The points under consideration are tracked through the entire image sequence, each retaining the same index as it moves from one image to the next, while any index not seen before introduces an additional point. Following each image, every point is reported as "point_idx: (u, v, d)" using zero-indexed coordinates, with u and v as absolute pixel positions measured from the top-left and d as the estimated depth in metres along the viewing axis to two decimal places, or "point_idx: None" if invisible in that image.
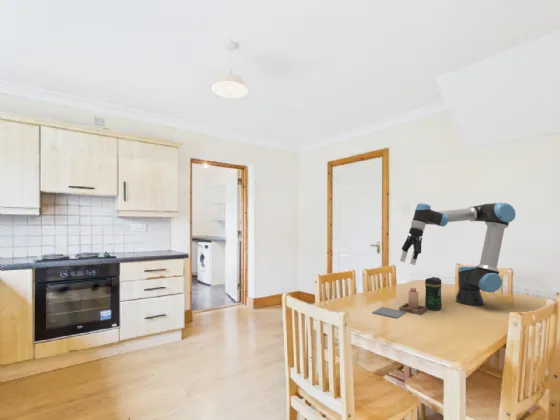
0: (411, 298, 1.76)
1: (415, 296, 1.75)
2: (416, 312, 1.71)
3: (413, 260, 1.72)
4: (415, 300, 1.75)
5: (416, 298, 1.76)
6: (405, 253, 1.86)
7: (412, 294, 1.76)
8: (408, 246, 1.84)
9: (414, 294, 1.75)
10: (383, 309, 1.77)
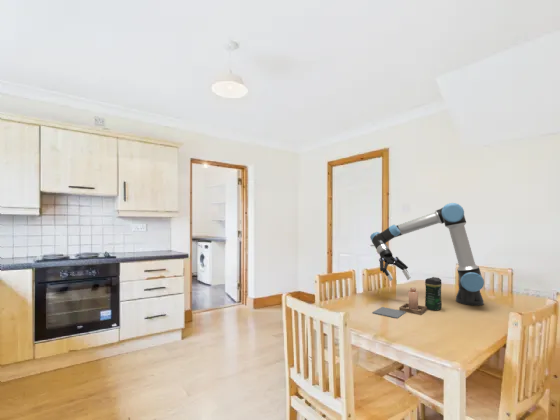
0: (411, 298, 1.76)
1: (415, 296, 1.75)
2: (416, 312, 1.71)
3: (388, 276, 1.88)
4: (415, 300, 1.75)
5: (416, 298, 1.76)
6: (404, 271, 1.94)
7: (412, 294, 1.76)
8: (398, 265, 1.97)
9: (414, 294, 1.75)
10: (383, 309, 1.77)
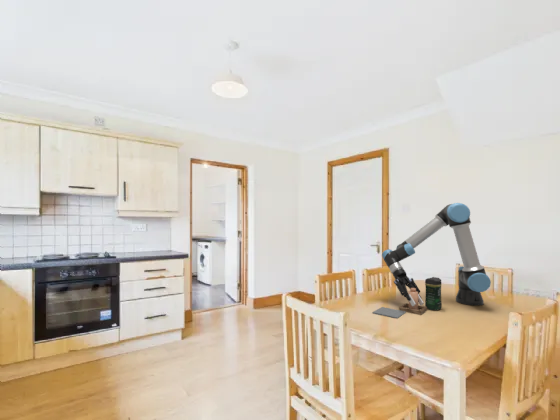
0: None
1: (415, 296, 1.75)
2: (416, 312, 1.71)
3: (411, 301, 1.75)
4: (415, 300, 1.75)
5: (416, 298, 1.76)
6: None
7: (412, 294, 1.76)
8: (410, 287, 1.83)
9: (414, 294, 1.75)
10: (383, 309, 1.77)
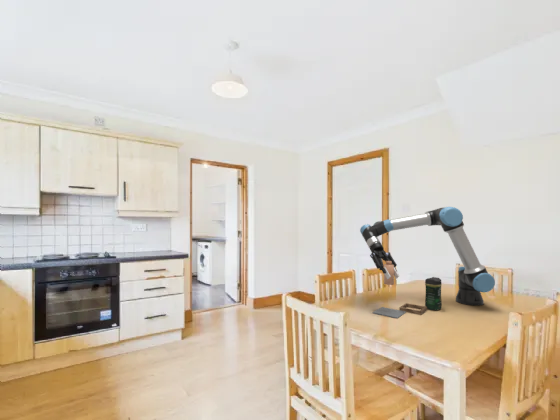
0: None
1: (390, 269, 1.72)
2: (416, 312, 1.71)
3: (386, 274, 1.71)
4: (390, 273, 1.71)
5: (392, 271, 1.72)
6: None
7: (387, 266, 1.72)
8: None
9: (389, 267, 1.72)
10: (383, 309, 1.77)
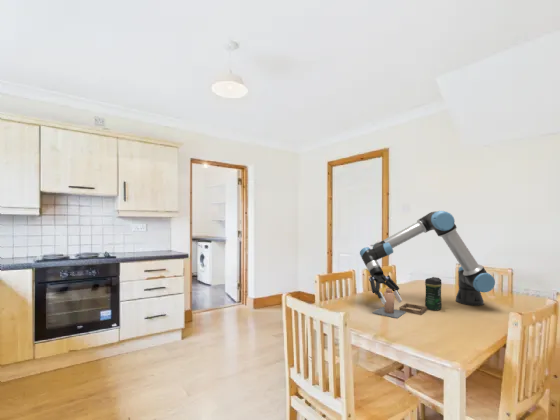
0: (387, 299, 1.71)
1: (391, 297, 1.71)
2: (416, 312, 1.71)
3: (381, 299, 1.70)
4: (391, 301, 1.71)
5: (392, 299, 1.71)
6: (395, 292, 1.75)
7: (387, 294, 1.71)
8: (388, 285, 1.79)
9: (390, 295, 1.71)
10: (383, 309, 1.77)
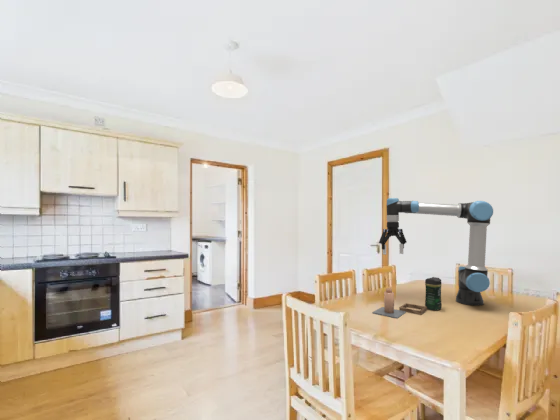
0: (387, 299, 1.71)
1: (391, 297, 1.71)
2: (416, 312, 1.71)
3: (383, 250, 1.96)
4: (391, 301, 1.71)
5: (392, 299, 1.71)
6: (401, 245, 2.00)
7: (387, 294, 1.71)
8: (398, 238, 2.00)
9: (390, 295, 1.71)
10: (383, 309, 1.77)
